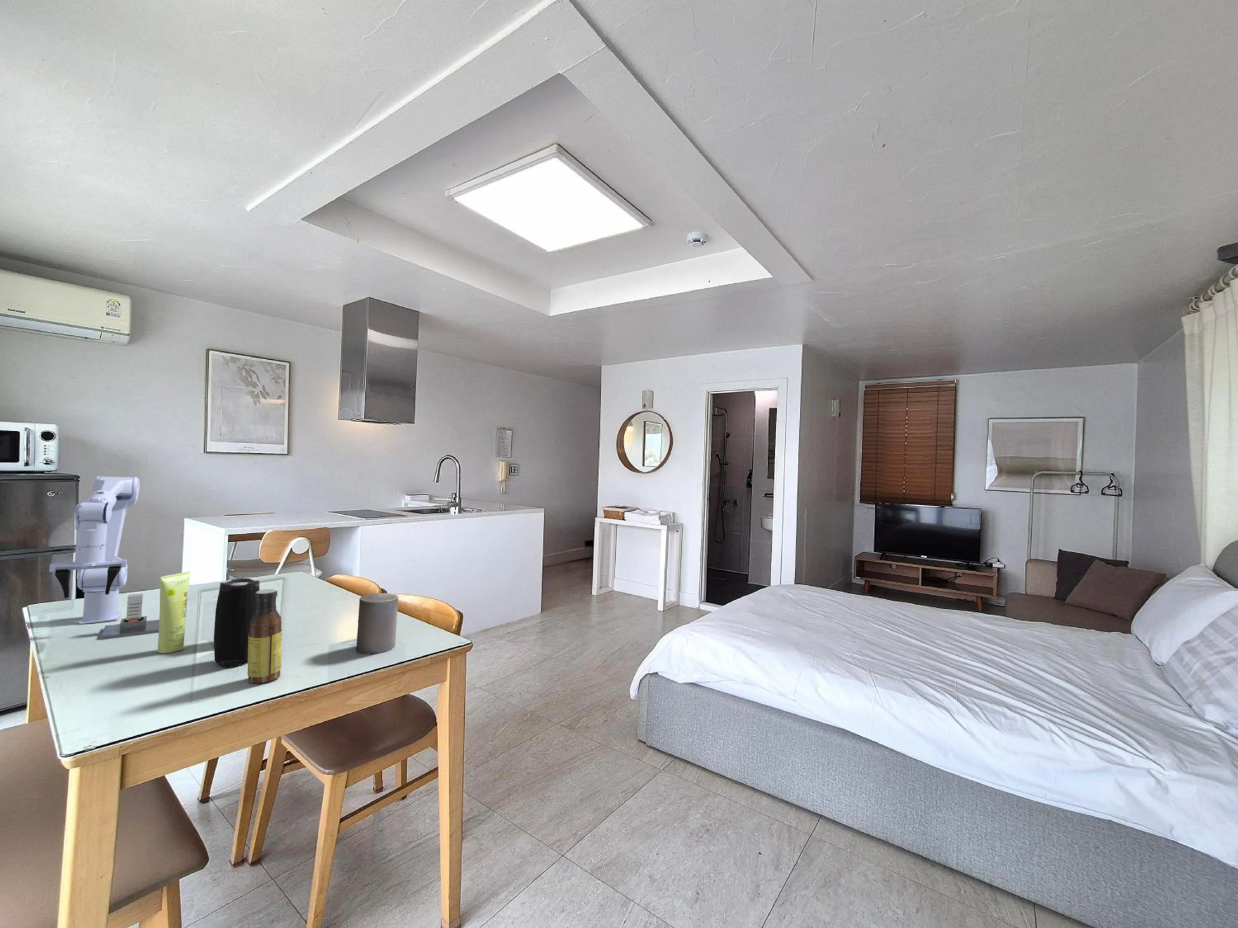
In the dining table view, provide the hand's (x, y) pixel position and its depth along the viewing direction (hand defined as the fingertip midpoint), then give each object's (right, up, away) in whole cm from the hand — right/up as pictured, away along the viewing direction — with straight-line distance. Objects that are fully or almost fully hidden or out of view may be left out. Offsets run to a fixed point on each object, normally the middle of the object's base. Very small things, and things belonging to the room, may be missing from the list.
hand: (87, 595), depth 138 cm
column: (+9, -8, +4) cm, 12 cm away
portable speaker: (+53, -12, -16) cm, 56 cm away
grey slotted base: (+9, -11, +4) cm, 14 cm away
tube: (+32, -12, -10) cm, 35 cm away
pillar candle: (+80, -14, -2) cm, 82 cm away
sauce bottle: (+66, -12, -25) cm, 72 cm away
